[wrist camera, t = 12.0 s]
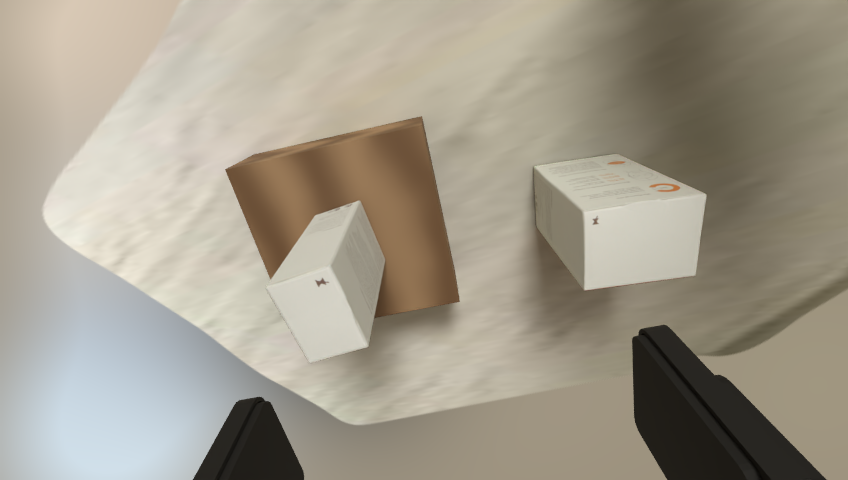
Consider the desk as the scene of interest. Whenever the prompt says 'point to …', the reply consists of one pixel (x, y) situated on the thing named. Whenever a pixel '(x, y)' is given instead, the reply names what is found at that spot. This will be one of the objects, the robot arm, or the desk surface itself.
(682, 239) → the small box
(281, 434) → the robot arm
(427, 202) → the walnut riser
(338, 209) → the skincare box
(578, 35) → the desk surface
